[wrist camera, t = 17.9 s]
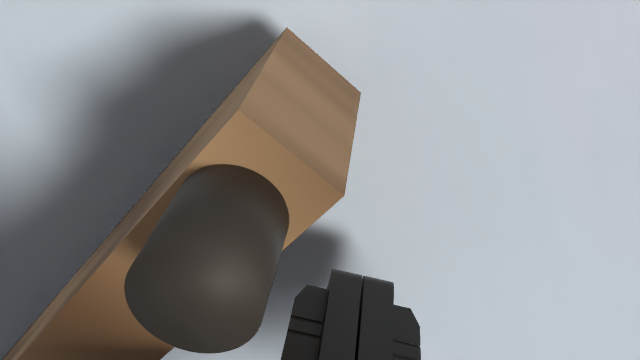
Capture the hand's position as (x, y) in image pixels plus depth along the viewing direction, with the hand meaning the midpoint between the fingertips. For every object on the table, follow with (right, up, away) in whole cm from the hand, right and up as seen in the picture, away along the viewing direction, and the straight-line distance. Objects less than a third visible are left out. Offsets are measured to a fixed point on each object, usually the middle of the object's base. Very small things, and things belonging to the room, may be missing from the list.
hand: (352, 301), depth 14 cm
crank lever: (-9, -2, +3) cm, 9 cm away
